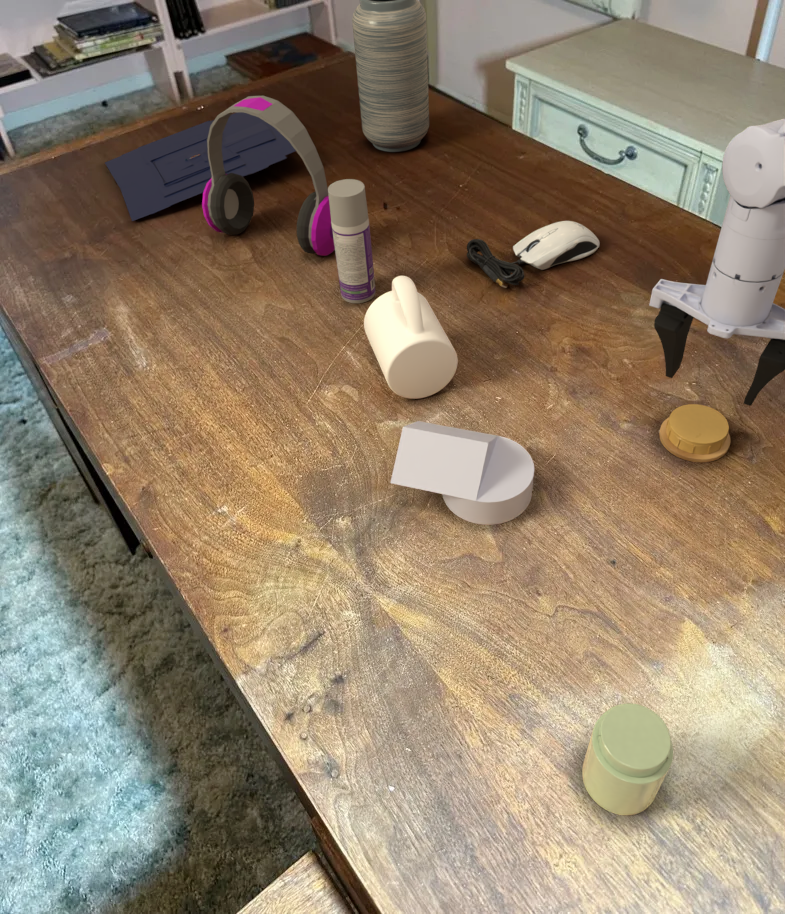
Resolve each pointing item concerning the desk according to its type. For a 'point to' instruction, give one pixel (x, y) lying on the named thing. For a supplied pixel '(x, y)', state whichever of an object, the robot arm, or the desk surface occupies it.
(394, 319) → the mug
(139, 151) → the dark blue flat panel
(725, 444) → the tan round disc
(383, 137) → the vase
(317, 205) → the headphones
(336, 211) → the container
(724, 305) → the robot arm
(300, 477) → the desk surface
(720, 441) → the lid
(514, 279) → the computer mouse
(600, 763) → the jar
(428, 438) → the wedge on round base
